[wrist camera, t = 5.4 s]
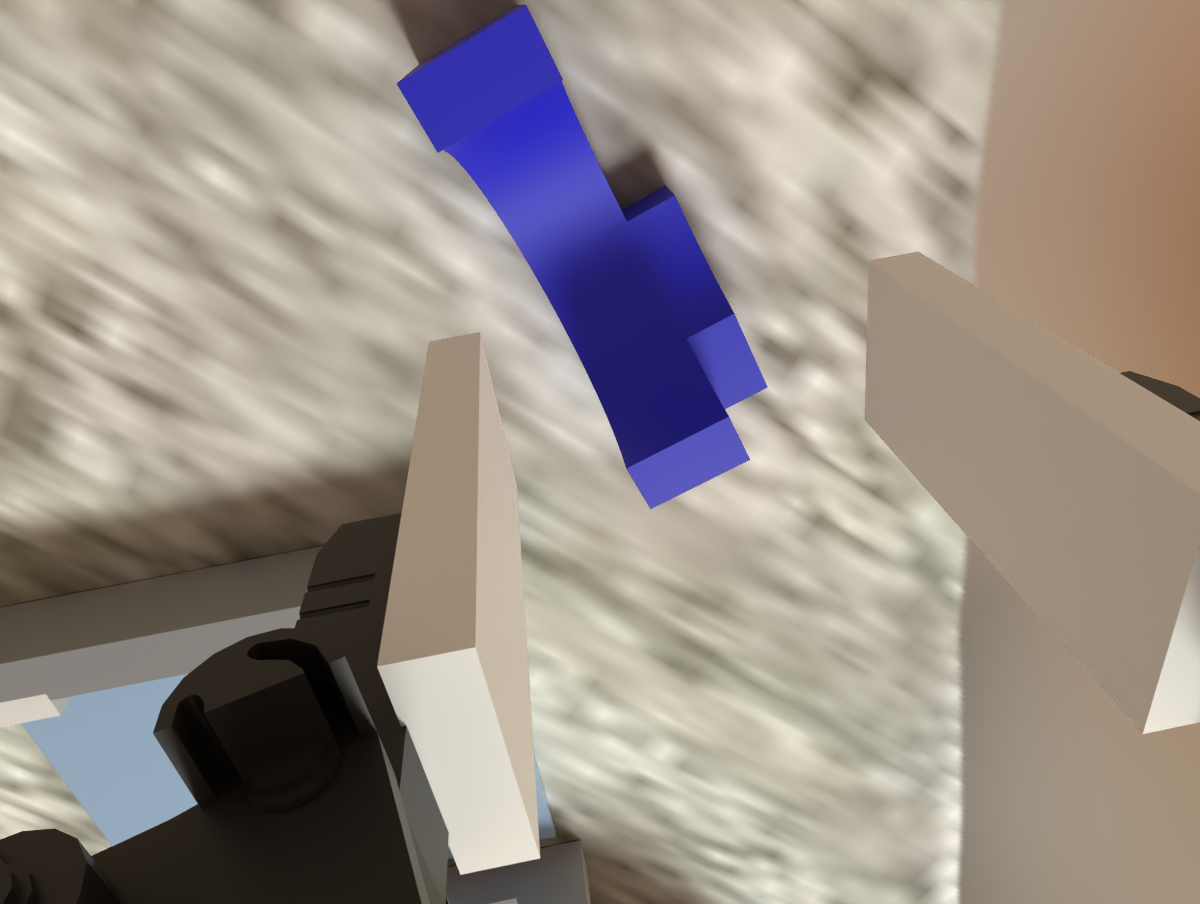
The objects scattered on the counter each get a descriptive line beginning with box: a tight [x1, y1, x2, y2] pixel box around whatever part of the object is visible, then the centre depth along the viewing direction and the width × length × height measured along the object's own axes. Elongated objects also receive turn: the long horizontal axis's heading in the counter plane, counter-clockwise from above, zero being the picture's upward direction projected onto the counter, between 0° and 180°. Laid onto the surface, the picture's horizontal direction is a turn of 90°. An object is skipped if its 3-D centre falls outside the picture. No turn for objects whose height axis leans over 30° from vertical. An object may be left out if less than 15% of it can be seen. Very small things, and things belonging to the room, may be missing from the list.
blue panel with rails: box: [0, 546, 591, 904], centre depth 32 cm, size 21×20×3 cm
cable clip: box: [397, 5, 767, 509], centre depth 21 cm, size 12×4×6 cm, turn 27°
